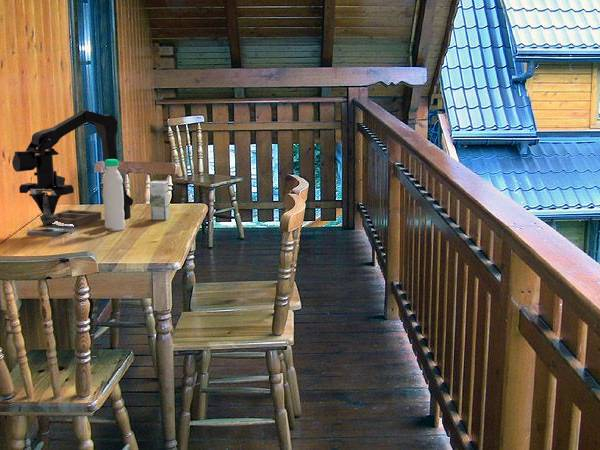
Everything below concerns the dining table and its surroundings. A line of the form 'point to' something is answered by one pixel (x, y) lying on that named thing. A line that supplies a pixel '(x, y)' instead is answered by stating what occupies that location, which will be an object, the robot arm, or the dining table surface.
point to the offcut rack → (77, 217)
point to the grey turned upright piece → (47, 214)
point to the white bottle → (113, 196)
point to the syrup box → (159, 200)
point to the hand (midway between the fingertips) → (48, 213)
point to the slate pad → (45, 233)
